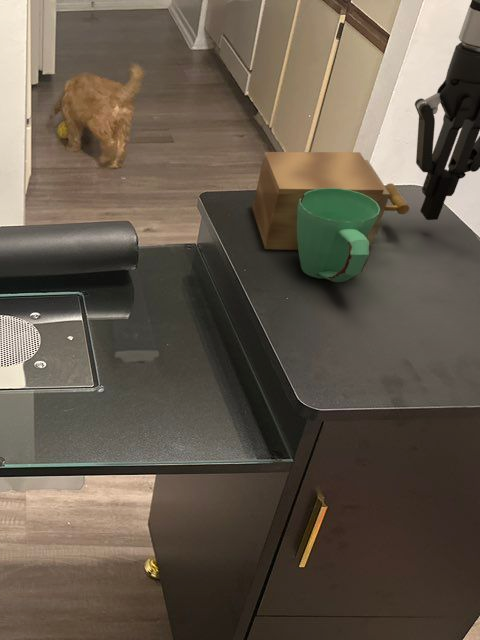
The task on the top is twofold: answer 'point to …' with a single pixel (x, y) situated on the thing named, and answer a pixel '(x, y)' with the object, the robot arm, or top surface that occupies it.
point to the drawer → (395, 199)
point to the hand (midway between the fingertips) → (428, 215)
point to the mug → (334, 232)
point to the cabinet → (304, 188)
